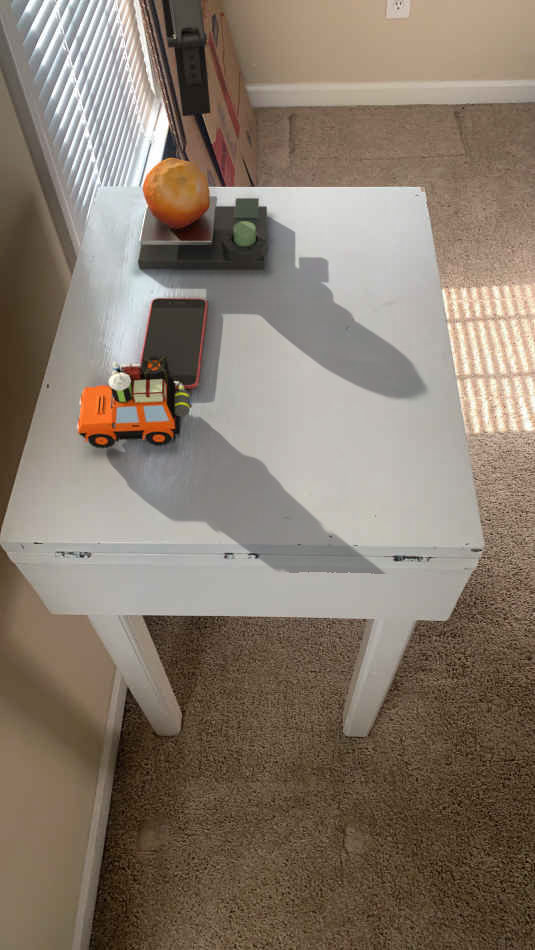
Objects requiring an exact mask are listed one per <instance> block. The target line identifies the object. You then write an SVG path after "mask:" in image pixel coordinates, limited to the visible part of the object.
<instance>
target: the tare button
mask: <svg viewBox="0 0 535 950" xmlns="http://www.w3.org/2000/svg"><path fill="white" fill-rule="evenodd" d="M233 235H234V242H235V244H236V245H238V246H246V247H248V246H251V245H253V244H254V243H255V242H256V227H255V225H254V224H253V223H251V222H247V221H242V222H239V223H237V224H235V225H234V227H233Z"/></svg>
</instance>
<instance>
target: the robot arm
mask: <svg viewBox="0 0 535 950" xmlns="http://www.w3.org/2000/svg"><path fill="white" fill-rule="evenodd" d="M161 6H162V12H163V21H164V28H165V29H164V30H165V36H166V46H167V48H168V49H169V48H170V49H171V48H173V51H174V59H175V67H176V75H177V83H178V84H177V85H178V91H179V92H178V93H179V100H180V106H181V114H182V117H189V116H190V117H191V116H199V115H207V114H212V113H211V112H212V111H211V102H210V92H209V81H208V68H207V59H206V58H207V57H206V46H207V41H208V36H207V34H206V31H205V24H204V23H205V22H204V15H203V8H202V0H161Z"/></svg>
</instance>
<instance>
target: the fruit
mask: <svg viewBox="0 0 535 950" xmlns="http://www.w3.org/2000/svg"><path fill="white" fill-rule="evenodd" d="M142 193H143V198H144V200H145V202H146V205H148V207H149V209H150V211H151V213H152V214H153V215H154V216H155V217H156V218H157V219H158V220H159V221H161V222H162V223H164V224H166V225H168V226H169V227H171V228H173V229H180V228H183V227H186V226H187V225H189V224H191V223H193V222H194V221H196V220H198V219H199V218H201V217H202V216H203V215H204V214H205V213H206V212H207V211H208V208H209V206H210V199H209V196H210V194H211V193H210V188H209V183H208V178H207V176H206V175H205V173H204V172H202V171H201V170H200V169H199V168H198V167H197V165H196V164H194V163H192V161H188V160H183V159H179V158H175V157H168V158H166V159H163V160H161V161H160V162H158V163H156V165H154V166H153V168H152V169H150V171H149V172H148V173H147V174H146V176H145V178H144V181H143V185H142Z"/></svg>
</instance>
